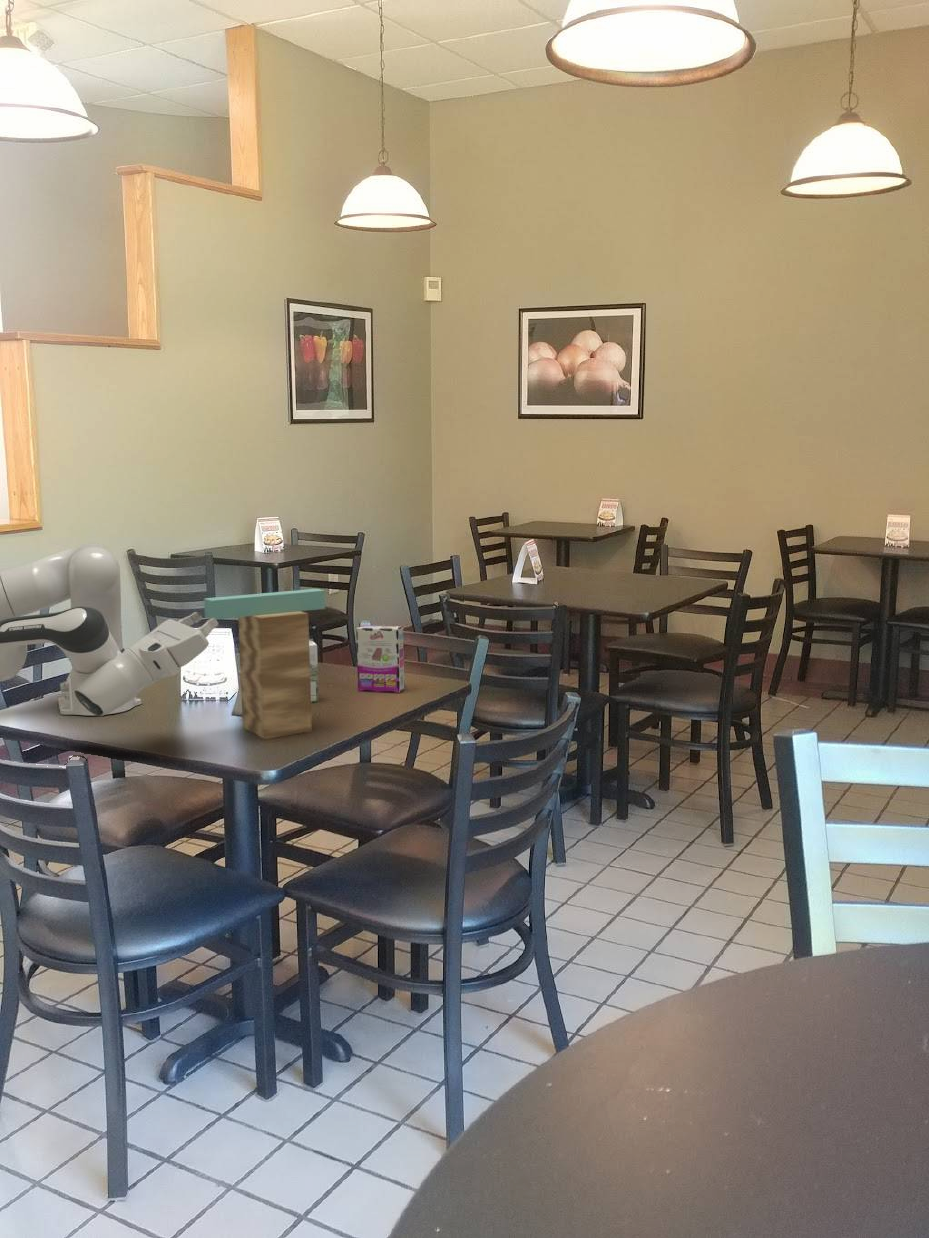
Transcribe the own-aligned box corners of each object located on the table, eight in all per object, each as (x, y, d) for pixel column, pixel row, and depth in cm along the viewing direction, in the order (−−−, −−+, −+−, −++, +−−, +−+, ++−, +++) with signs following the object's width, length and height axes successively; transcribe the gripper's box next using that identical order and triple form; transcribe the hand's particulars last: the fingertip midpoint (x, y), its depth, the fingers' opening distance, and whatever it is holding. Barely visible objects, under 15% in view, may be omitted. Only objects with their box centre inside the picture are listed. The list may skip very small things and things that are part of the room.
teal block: (204, 617, 229) (204, 598, 229) (317, 606, 244) (316, 588, 243) (211, 619, 226) (211, 600, 225) (325, 608, 240) (324, 590, 240)
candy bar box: (405, 689, 278) (404, 625, 275) (399, 693, 273) (398, 629, 270) (363, 687, 280) (362, 624, 278) (357, 691, 276) (355, 627, 273)
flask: (255, 717, 251) (254, 674, 249) (226, 715, 252) (224, 673, 250) (267, 709, 258) (266, 668, 256) (238, 708, 259) (237, 667, 257)
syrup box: (311, 697, 270) (309, 639, 268) (319, 702, 265) (317, 643, 262) (289, 699, 267) (287, 641, 265) (296, 704, 262) (294, 645, 260)
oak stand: (242, 727, 242) (238, 611, 237) (288, 719, 248) (284, 606, 244) (264, 739, 232) (260, 618, 228) (311, 731, 238) (308, 613, 234)
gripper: (145, 661, 231) (198, 623, 237) (177, 677, 214) (233, 636, 220) (128, 637, 229) (182, 599, 234) (159, 652, 212) (217, 611, 217)
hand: (207, 617), depth 227 cm, fingers open, 8 cm apart
